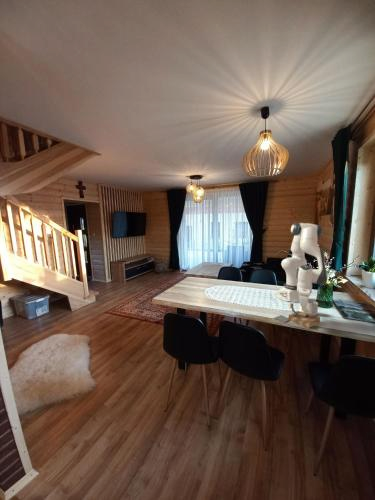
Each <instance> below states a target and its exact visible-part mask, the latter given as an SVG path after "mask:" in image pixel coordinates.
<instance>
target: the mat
mask: <svg viewBox="0 0 375 500" xmlns="http://www.w3.org/2000/svg"><path fill="white" fill-rule="evenodd" d="M273 318H274V319H275V320H277V321H280V322H282V323H284V324H285V323H287V322H289V321H290V320H289V319H288V318H289V317H287V316H285V315H278V316H275V317H273ZM290 322H291V321H290Z"/></svg>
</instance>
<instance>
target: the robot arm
mask: <svg viewBox="0 0 375 500" xmlns="http://www.w3.org/2000/svg"><path fill="white" fill-rule="evenodd" d="M290 233H291V235H293V239H292V241H291V246H290V251H291V252H292V255H291V257H286V258H284V259H282V261H281V263H280V265H281V267H282V269H283V270H284V271H285V275H286V278H285V279H286V283H283V287H281V288H280V289H278V290H277V293H276V294H274V297H275V298H278V299H280V300H281V301H282V300H283V301H285V302H288V303H289V302H290V303H299V307H300V306H302V310H305V307H306V308H307V303H308V301H309V298H310V296H311V295H312V293H313V291H312V290H313V284H318V285H324V284H326V283H327V282H328V278H329V277H328V273H327V269H326V262H325V256H324V251H323V249H322V248H321V247H319V244H318V238H319V237H321V236H322V233H323V227H322V226H321V225H319V224H314V223H309V222H307V223H306V222H305V223H304V222H293V223H292V224H291V228H290ZM305 254H308V255H310V256H312V257H315V258H316V259H317V266H318V269H316V268H313V267H312V266H309V265H307V264H308V263H307V259H306V257H305Z"/></svg>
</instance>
